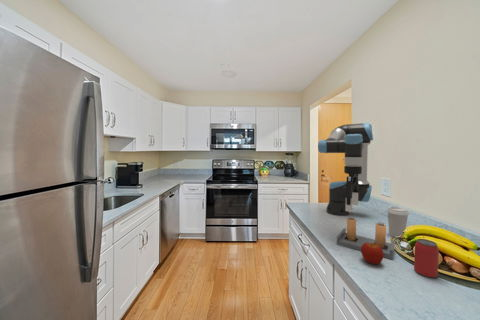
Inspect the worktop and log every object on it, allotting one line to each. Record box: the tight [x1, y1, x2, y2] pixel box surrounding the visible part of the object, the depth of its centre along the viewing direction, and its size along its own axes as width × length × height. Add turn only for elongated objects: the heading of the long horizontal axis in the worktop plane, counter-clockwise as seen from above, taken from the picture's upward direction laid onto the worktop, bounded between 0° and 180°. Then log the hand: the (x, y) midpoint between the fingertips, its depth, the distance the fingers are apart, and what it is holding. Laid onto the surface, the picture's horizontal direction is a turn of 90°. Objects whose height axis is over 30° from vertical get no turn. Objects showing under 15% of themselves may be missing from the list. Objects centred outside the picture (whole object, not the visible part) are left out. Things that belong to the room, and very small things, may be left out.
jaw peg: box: [346, 216, 357, 242], centre depth 101 cm, size 4×4×13 cm
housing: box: [336, 221, 396, 261], centre depth 97 cm, size 13×22×13 cm, turn 50°
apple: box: [360, 243, 384, 265], centre depth 83 cm, size 8×8×8 cm
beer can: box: [413, 238, 440, 279], centre depth 76 cm, size 7×7×12 cm
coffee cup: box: [386, 206, 410, 238], centre depth 108 cm, size 10×10×15 cm
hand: (352, 208), depth 100 cm, fingers open, 13 cm apart
